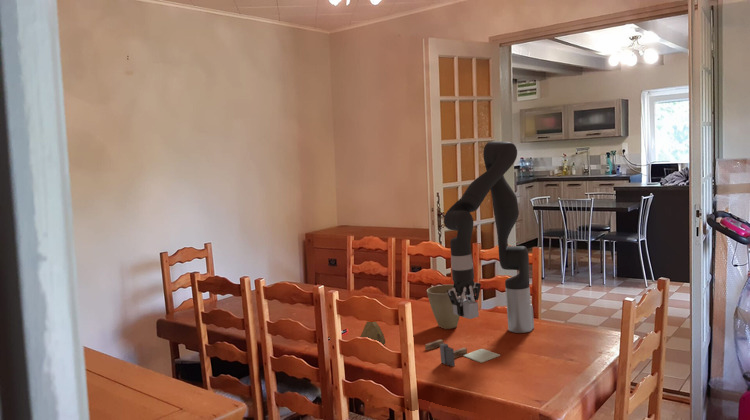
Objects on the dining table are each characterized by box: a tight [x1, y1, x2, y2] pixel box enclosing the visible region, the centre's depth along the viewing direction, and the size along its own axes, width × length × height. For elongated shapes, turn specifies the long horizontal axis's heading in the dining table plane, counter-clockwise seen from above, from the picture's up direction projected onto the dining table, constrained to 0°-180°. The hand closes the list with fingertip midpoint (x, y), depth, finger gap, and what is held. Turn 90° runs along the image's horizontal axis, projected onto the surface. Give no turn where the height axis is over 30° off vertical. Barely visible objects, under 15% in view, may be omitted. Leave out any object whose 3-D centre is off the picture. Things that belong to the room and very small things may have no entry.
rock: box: [360, 321, 386, 345], centre depth 220 cm, size 11×9×10 cm
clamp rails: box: [424, 338, 468, 359], centre depth 206 cm, size 8×14×2 cm, turn 33°
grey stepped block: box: [439, 342, 456, 367], centre depth 194 cm, size 2×5×7 cm, turn 33°
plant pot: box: [426, 284, 461, 330], centre depth 234 cm, size 15×15×16 cm
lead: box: [453, 298, 480, 320], centre depth 200 cm, size 4×9×5 cm, turn 31°
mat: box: [462, 348, 501, 364], centre depth 199 cm, size 9×9×1 cm
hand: (466, 314), depth 200 cm, fingers closed on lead, 4 cm apart
